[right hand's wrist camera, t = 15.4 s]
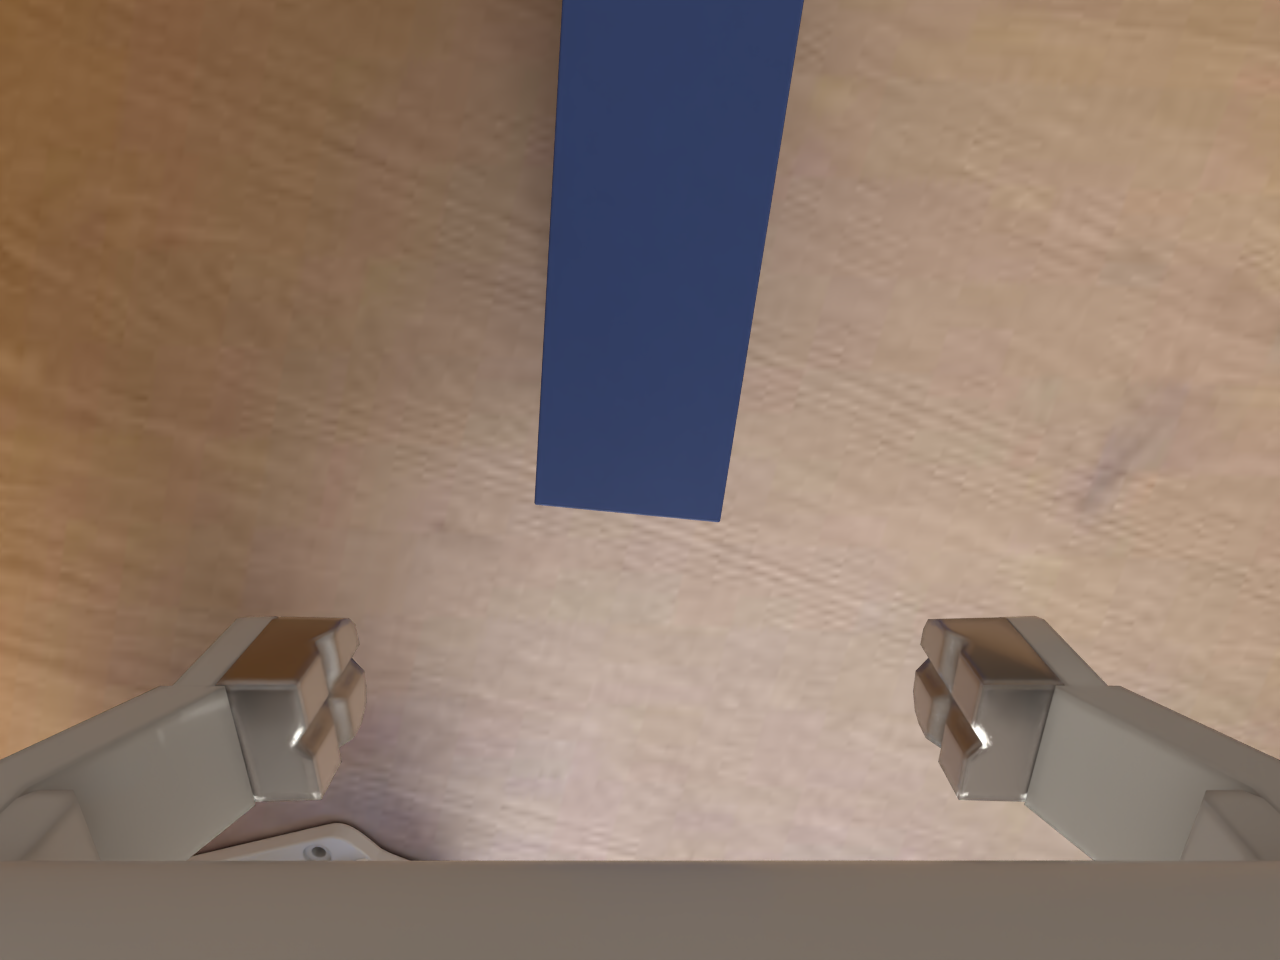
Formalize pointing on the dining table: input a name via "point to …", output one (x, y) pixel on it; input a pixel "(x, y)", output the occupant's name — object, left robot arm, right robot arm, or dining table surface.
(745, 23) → the box
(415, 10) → the dining table surface
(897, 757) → the dining table surface
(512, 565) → the dining table surface
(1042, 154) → the dining table surface
